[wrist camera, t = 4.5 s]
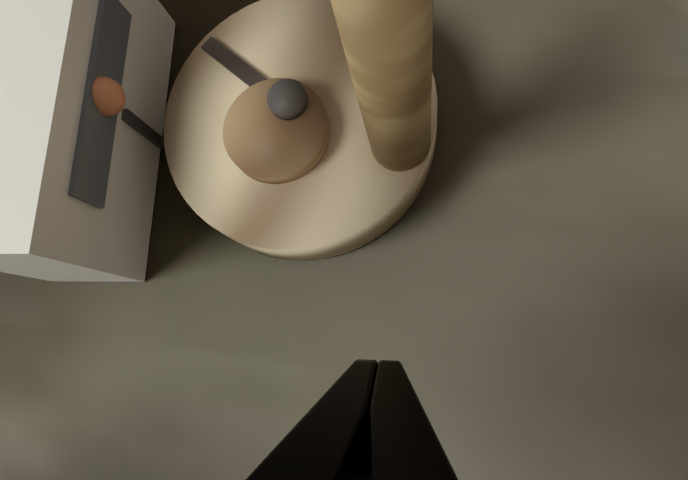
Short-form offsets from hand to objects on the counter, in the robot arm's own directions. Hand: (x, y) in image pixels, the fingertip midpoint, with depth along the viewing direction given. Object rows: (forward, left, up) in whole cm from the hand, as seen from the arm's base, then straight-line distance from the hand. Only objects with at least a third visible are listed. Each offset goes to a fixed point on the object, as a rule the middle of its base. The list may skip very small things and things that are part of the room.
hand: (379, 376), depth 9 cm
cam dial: (+10, +5, -11) cm, 16 cm away
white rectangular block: (+10, +15, -12) cm, 21 cm away
